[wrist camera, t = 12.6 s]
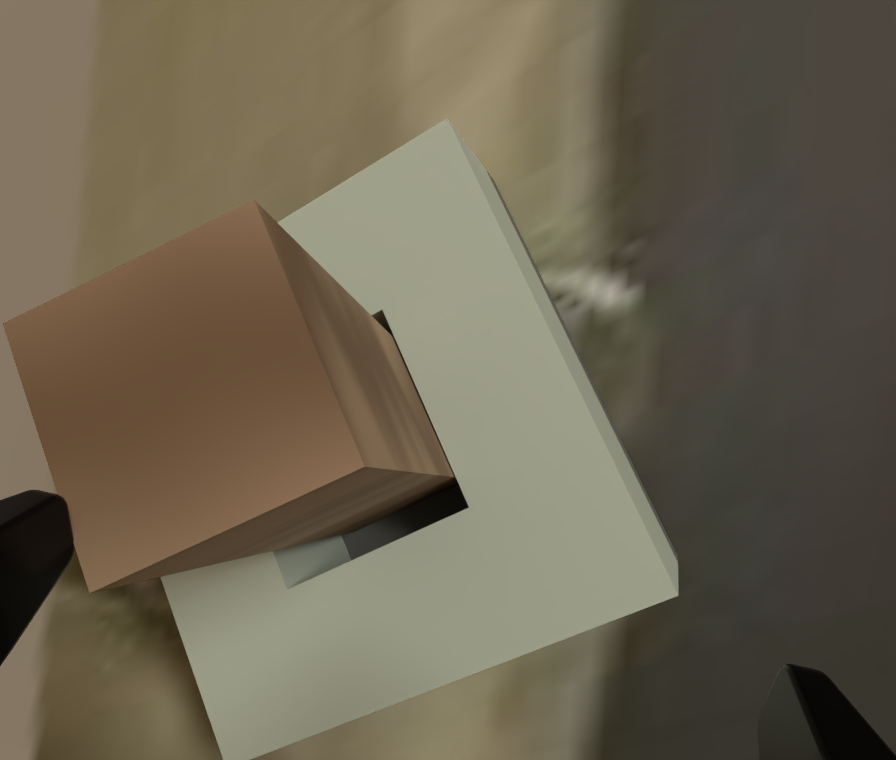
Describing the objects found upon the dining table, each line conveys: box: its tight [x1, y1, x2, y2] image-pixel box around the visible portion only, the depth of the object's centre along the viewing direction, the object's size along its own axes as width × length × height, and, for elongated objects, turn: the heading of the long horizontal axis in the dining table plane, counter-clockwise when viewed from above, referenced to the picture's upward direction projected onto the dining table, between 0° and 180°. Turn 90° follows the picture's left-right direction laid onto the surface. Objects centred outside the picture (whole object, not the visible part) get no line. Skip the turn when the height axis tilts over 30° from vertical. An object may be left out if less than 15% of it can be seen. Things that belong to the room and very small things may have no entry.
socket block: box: [160, 119, 678, 760], centre depth 21 cm, size 13×13×5 cm
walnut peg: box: [3, 200, 459, 593], centre depth 16 cm, size 4×4×13 cm
